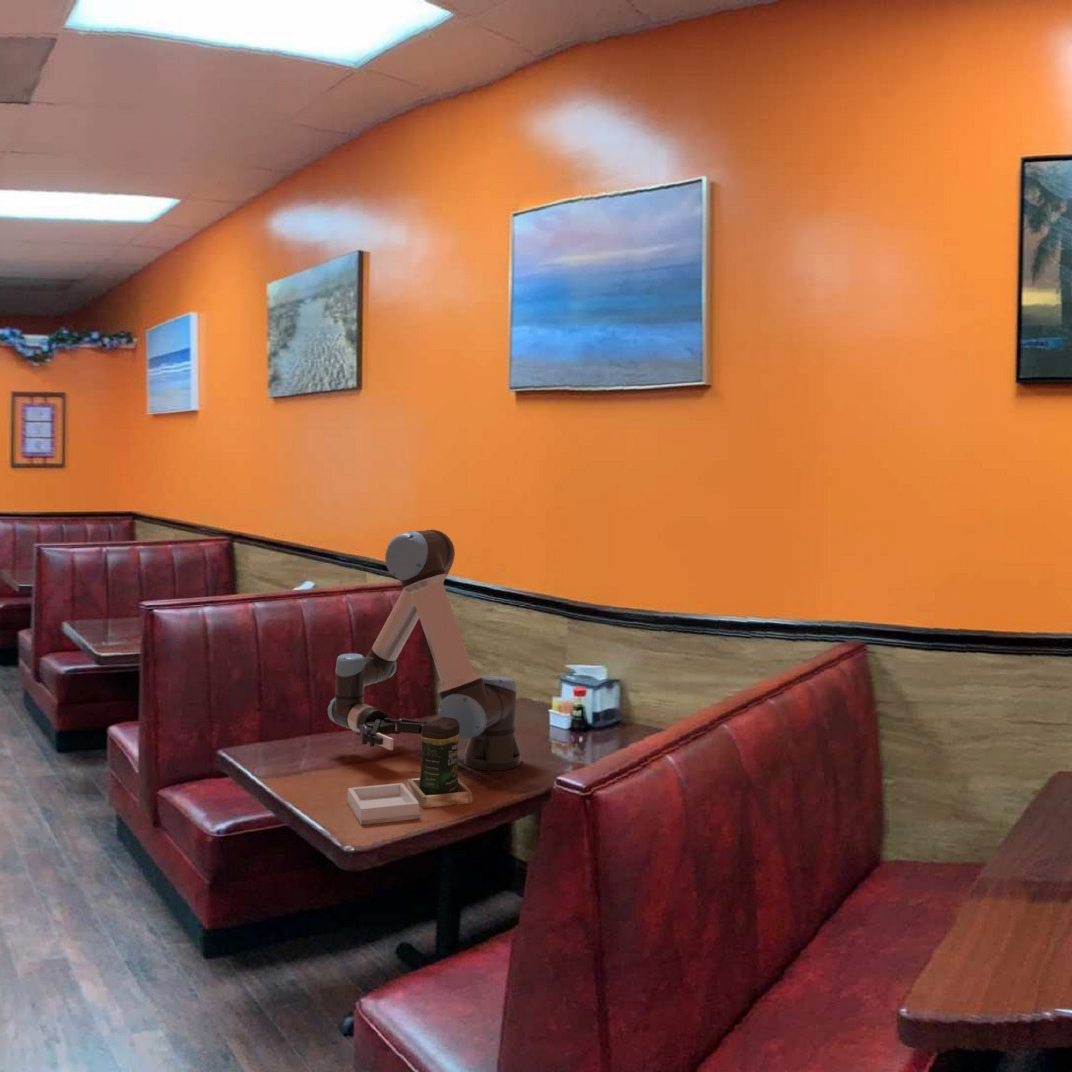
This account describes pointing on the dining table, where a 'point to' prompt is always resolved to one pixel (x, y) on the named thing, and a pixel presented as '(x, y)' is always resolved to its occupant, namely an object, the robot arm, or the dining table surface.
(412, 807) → the parts tray
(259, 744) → the dining table surface
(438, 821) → the dining table surface
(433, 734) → the coffee jar
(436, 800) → the holder collar
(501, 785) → the dining table surface
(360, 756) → the dining table surface
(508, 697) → the robot arm
